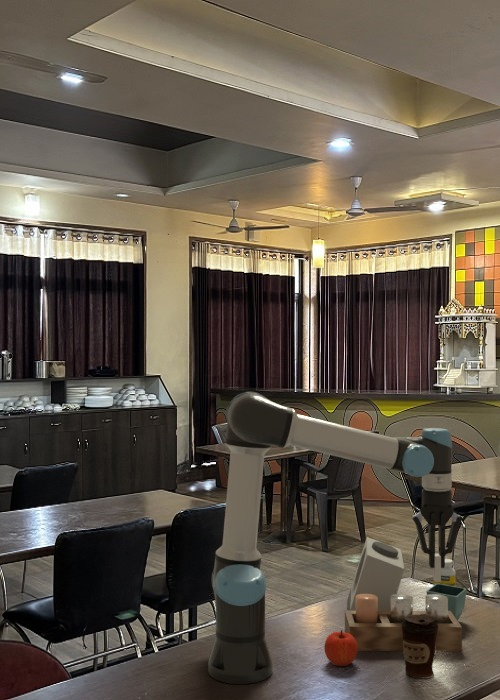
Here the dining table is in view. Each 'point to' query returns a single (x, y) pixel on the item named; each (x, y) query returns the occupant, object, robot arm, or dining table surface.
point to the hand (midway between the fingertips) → (436, 580)
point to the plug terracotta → (366, 608)
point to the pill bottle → (448, 574)
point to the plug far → (437, 608)
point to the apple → (341, 648)
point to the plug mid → (401, 607)
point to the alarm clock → (377, 574)
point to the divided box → (398, 633)
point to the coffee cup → (419, 644)
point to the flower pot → (451, 597)
